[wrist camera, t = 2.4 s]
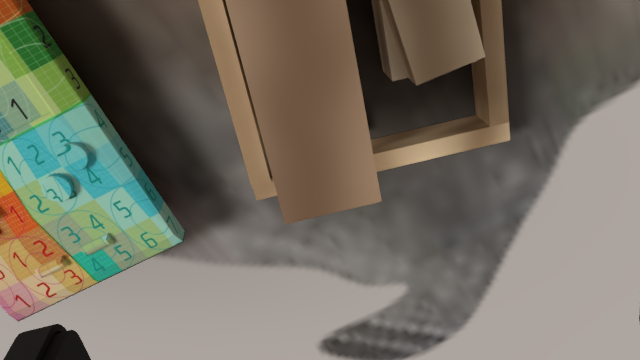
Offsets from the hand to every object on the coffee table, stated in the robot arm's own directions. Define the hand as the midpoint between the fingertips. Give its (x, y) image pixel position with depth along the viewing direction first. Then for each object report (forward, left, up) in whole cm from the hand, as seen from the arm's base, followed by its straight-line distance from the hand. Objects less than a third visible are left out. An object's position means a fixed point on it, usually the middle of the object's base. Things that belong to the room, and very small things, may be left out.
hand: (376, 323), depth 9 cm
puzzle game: (+17, +2, -27) cm, 32 cm away
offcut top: (-8, 0, -24) cm, 25 cm away
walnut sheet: (0, 0, -27) cm, 27 cm away
